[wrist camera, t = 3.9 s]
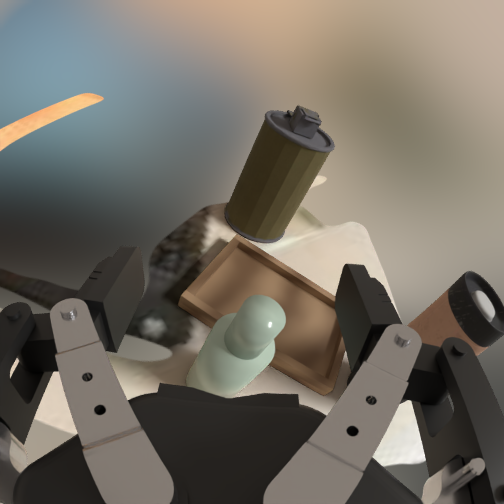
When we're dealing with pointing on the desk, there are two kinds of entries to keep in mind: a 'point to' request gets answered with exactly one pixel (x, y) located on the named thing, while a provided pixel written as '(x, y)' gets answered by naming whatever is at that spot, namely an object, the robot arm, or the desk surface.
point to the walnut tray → (287, 296)
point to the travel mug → (462, 316)
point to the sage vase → (238, 348)
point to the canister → (278, 174)
